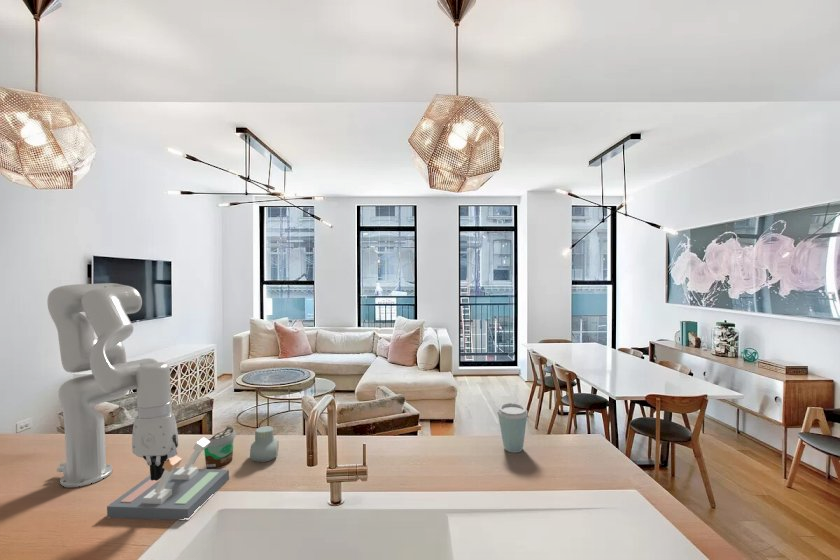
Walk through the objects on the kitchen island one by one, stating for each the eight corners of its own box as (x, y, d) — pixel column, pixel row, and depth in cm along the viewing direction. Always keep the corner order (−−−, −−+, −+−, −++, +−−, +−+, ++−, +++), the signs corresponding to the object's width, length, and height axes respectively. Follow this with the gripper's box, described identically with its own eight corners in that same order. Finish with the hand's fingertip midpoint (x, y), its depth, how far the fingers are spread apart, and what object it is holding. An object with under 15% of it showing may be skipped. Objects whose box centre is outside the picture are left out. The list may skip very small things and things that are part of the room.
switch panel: (107, 517, 107) (106, 500, 107) (160, 477, 127) (159, 463, 127) (188, 520, 106) (187, 503, 106) (229, 479, 126) (228, 465, 126)
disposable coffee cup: (531, 455, 140) (531, 412, 139) (499, 455, 140) (500, 412, 139) (524, 442, 150) (524, 401, 150) (494, 442, 151) (494, 401, 150)
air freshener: (254, 452, 144) (253, 424, 143) (279, 449, 146) (278, 421, 145) (249, 467, 133) (248, 437, 133) (275, 464, 135) (275, 434, 135)
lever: (180, 468, 120) (196, 442, 120) (188, 462, 124) (203, 437, 123) (187, 473, 120) (203, 447, 120) (194, 467, 124) (210, 441, 123)
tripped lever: (150, 491, 109) (165, 461, 108) (160, 484, 112) (174, 454, 111) (158, 496, 108) (173, 465, 108) (167, 488, 112) (182, 458, 111)
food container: (220, 473, 130) (219, 442, 129) (203, 471, 131) (202, 440, 130) (244, 455, 142) (243, 426, 141) (228, 453, 143) (227, 425, 142)
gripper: (117, 415, 106) (120, 484, 106) (172, 415, 105) (175, 486, 105) (139, 405, 113) (141, 470, 114) (190, 405, 112) (193, 471, 113)
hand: (157, 477), depth 110 cm, fingers closed
